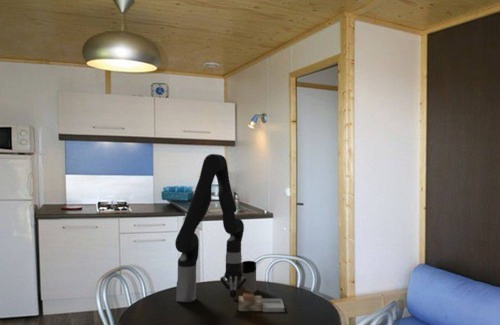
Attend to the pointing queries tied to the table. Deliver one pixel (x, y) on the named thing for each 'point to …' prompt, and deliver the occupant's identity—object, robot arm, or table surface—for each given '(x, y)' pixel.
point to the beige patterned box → (251, 304)
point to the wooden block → (242, 290)
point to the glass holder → (250, 275)
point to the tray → (273, 305)
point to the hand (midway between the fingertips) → (233, 297)
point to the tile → (248, 296)
